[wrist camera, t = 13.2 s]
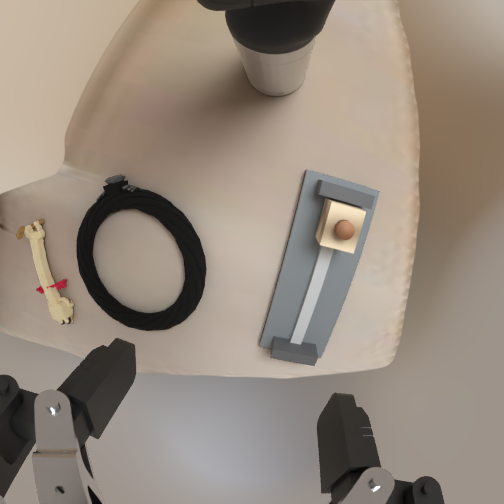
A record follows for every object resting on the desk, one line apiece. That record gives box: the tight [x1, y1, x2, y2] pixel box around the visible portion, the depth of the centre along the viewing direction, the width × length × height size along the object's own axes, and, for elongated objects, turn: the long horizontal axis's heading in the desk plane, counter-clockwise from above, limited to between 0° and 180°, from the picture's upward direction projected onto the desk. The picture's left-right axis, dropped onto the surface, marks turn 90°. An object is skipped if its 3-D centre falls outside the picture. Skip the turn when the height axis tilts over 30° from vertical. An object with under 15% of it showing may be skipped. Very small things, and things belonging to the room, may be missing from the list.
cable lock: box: [77, 175, 206, 331], centre depth 47 cm, size 28×4×30 cm
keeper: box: [315, 198, 366, 254], centre depth 37 cm, size 6×5×7 cm
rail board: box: [260, 170, 380, 366], centre depth 43 cm, size 32×12×6 cm, turn 167°
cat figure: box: [16, 219, 74, 324], centre depth 48 cm, size 10×9×25 cm
